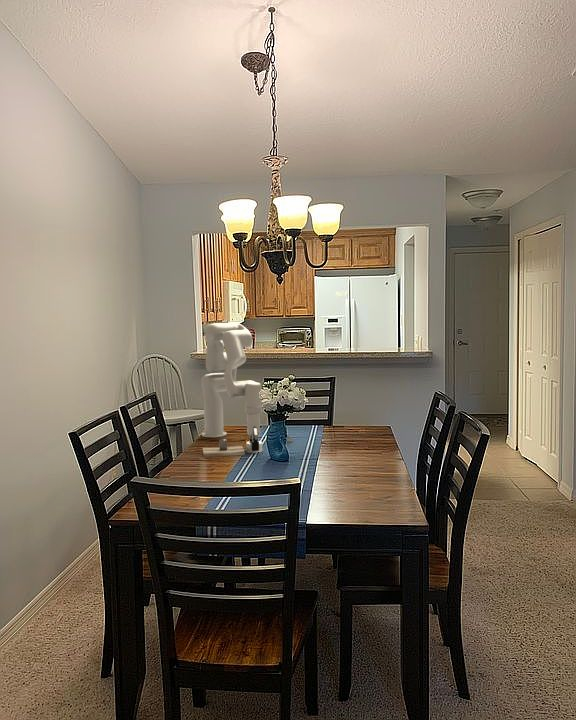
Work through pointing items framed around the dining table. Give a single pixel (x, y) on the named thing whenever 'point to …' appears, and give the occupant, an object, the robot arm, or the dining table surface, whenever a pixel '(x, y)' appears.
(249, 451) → the ring
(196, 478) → the dining table surface
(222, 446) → the dark domed cylinder
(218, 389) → the robot arm
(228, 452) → the block
